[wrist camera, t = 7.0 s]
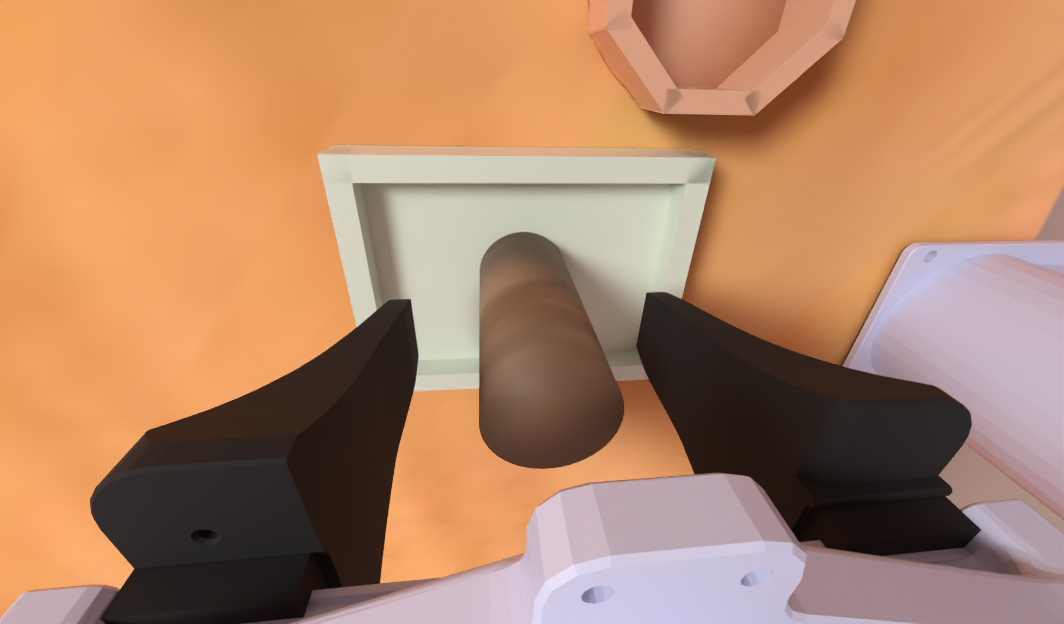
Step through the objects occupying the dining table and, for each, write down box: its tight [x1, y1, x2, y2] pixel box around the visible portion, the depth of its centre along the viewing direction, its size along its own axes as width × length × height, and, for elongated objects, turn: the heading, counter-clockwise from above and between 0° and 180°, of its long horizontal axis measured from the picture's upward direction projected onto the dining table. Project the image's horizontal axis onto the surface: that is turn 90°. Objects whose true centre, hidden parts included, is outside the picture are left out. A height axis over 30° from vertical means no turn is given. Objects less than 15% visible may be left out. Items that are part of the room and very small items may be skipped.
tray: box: [317, 145, 716, 392], centre depth 15 cm, size 12×9×2 cm
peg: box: [479, 232, 624, 469], centre depth 12 cm, size 3×3×8 cm
